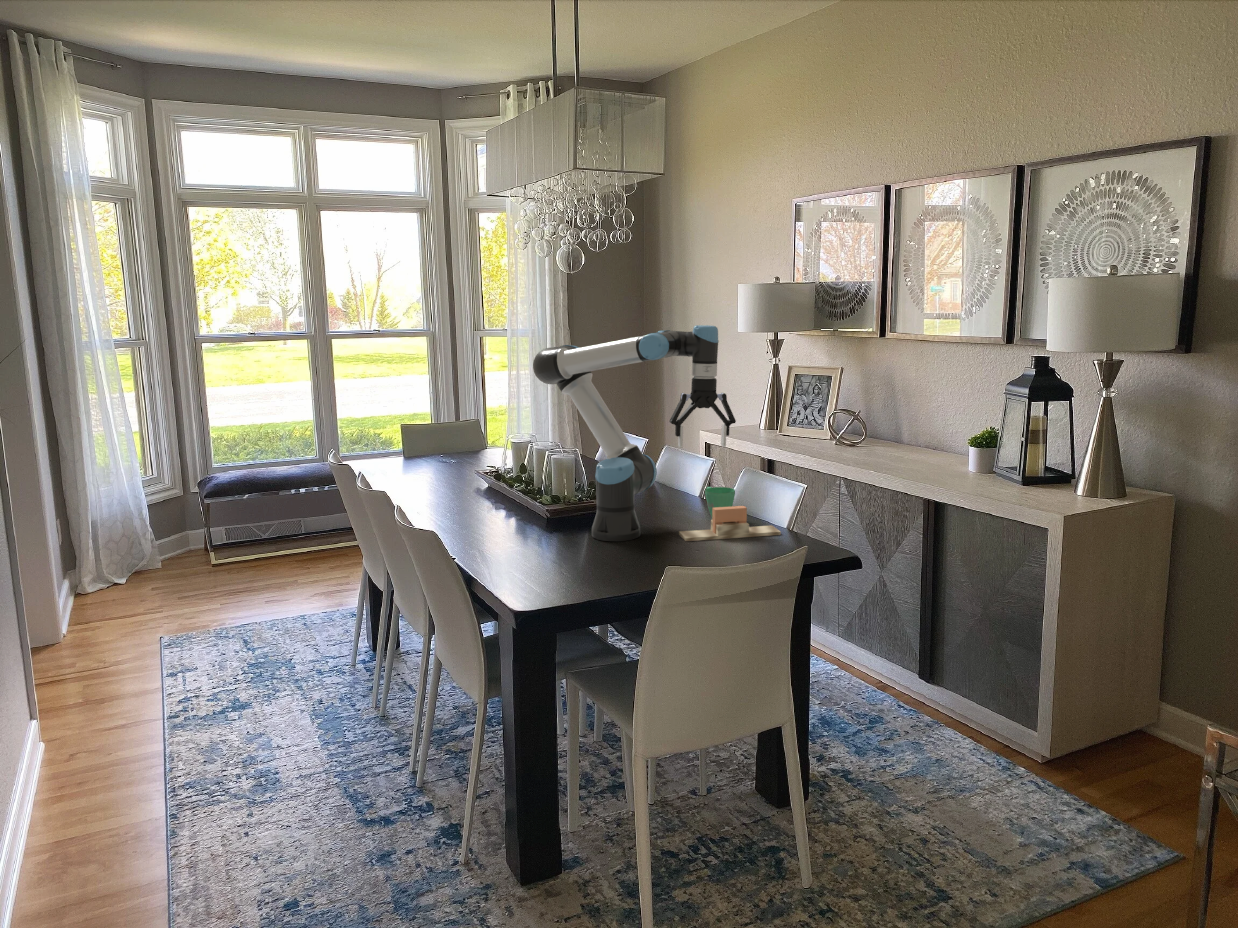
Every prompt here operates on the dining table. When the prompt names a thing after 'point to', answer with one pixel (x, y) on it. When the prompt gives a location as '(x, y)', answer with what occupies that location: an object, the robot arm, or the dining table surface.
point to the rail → (729, 531)
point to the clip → (728, 515)
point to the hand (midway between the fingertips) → (701, 446)
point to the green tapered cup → (719, 497)
